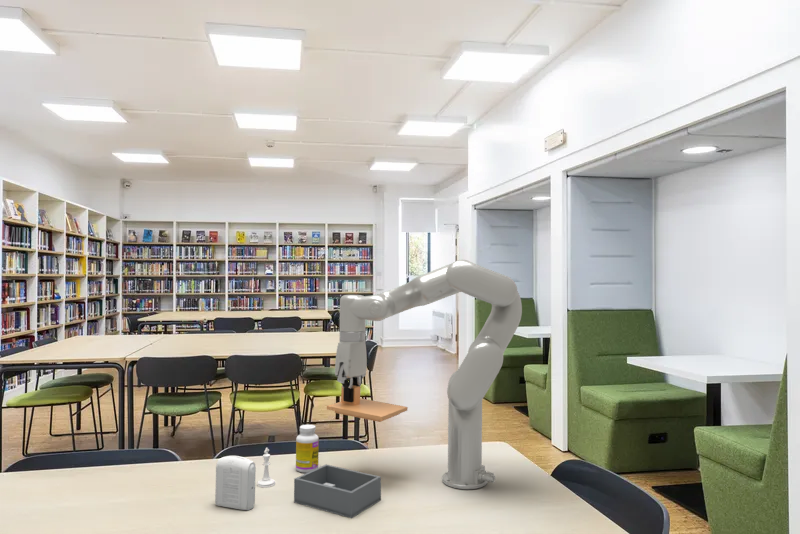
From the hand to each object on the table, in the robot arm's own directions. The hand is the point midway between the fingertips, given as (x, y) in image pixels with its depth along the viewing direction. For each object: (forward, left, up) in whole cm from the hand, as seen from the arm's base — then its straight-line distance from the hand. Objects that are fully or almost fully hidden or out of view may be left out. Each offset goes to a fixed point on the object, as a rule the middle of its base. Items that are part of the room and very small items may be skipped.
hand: (351, 400), depth 165 cm
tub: (-8, +17, -22) cm, 29 cm away
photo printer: (+12, +33, -22) cm, 41 cm away
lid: (-6, 0, -2) cm, 6 cm away
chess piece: (+16, +18, -22) cm, 33 cm away
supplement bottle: (+14, +3, -22) cm, 26 cm away
